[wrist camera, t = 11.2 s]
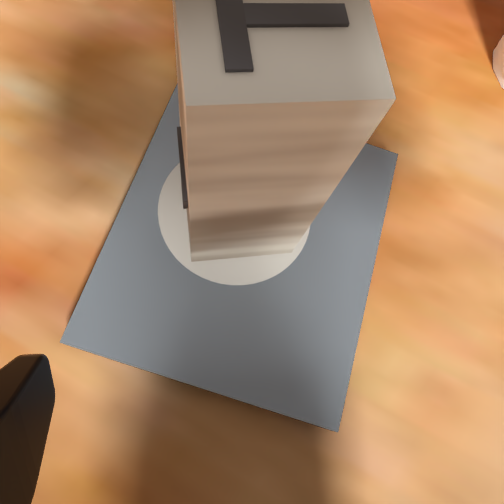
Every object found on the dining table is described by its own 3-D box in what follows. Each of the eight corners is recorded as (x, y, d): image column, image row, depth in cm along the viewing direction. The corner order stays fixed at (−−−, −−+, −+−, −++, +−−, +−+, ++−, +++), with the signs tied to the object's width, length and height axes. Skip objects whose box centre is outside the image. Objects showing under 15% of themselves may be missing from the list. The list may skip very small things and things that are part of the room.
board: (330, 430, 19) (338, 432, 18) (66, 344, 18) (58, 342, 17) (389, 163, 23) (398, 153, 22) (179, 92, 23) (178, 78, 22)
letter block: (291, 252, 20) (398, 95, 9) (187, 262, 19) (178, 103, 9) (276, 164, 21) (355, -59, 11) (179, 170, 20) (162, -65, 10)
